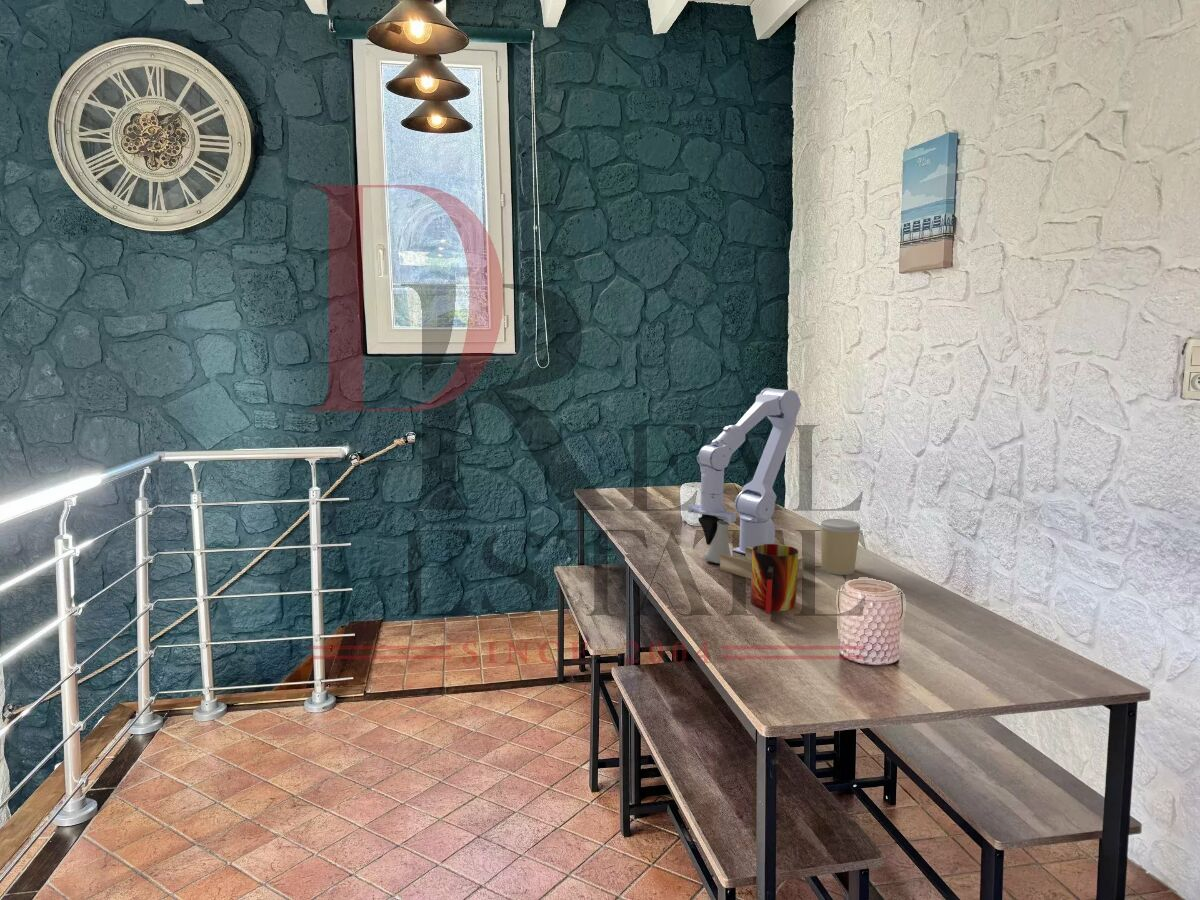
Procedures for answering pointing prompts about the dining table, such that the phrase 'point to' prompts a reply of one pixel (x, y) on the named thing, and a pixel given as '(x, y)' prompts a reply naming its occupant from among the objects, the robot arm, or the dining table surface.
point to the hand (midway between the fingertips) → (710, 544)
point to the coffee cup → (839, 545)
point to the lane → (748, 564)
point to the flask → (718, 543)
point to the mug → (774, 577)
